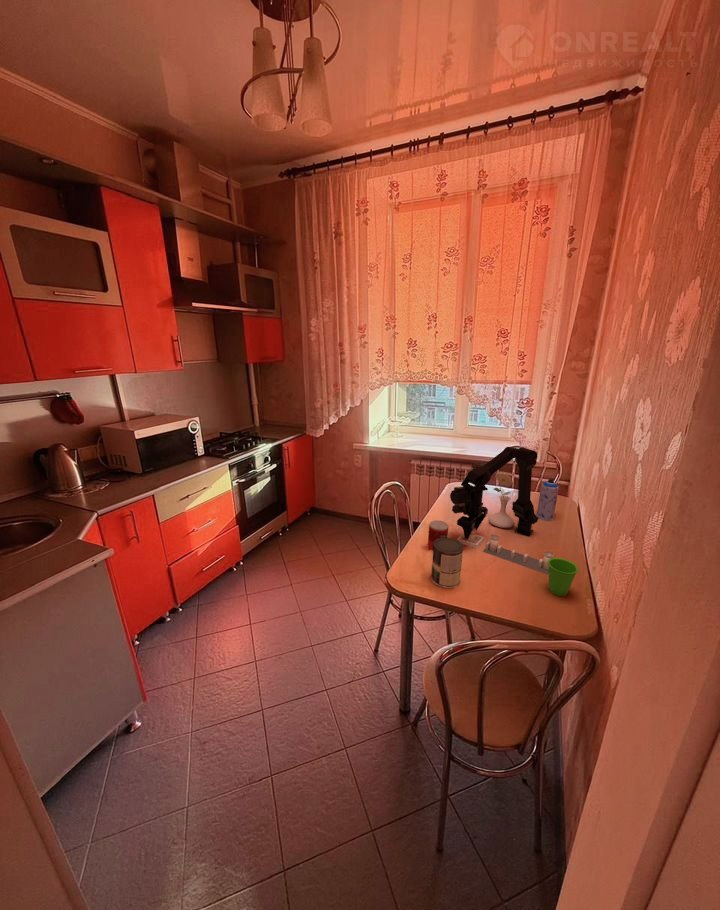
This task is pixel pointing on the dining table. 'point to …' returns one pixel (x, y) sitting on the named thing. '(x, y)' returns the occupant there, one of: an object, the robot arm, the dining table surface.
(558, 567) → the cup
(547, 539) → the dining table surface
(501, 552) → the fuse block
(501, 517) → the flower in vase
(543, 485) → the aerosol can
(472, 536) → the cylinder
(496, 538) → the cylinder
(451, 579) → the coffee can
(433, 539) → the canned food
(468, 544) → the tray
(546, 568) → the cylinder
